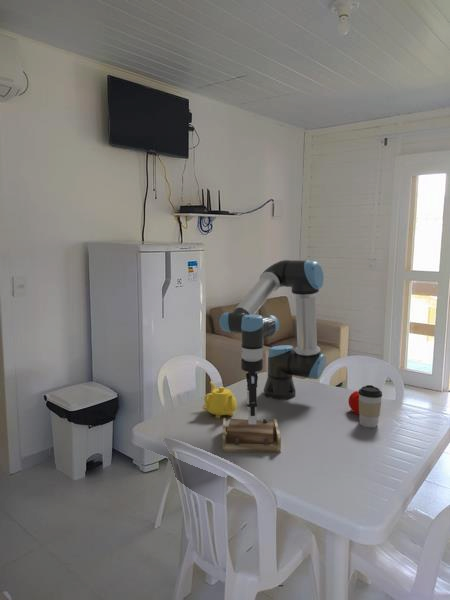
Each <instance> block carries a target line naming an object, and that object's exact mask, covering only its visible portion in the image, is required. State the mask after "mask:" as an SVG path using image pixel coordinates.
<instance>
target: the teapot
mask: <svg viewBox="0 0 450 600" xmlns="http://www.w3.org/2000/svg"><path fill="white" fill-rule="evenodd" d="M210 385H211V390H210V393H206V394H205V395H204V398H203V400H204V405H203V406H202V409H203V411H208V412H209V413H210V414H212V415H215V418H216V417H217V418H216V419H221V418H222V416H228V417H232V416H234V414H233V413H234V412H235V411H236V410H237V408H238V404H237V399H236V397H235V396H234V394H233V392H232V391H231V390H230V389H229V388H225V386H219V387H217V388H216V385H215V382H213V381H211V380H210ZM220 417H221V418H220Z"/></svg>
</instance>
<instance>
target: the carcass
mask: <svg viewBox="0 0 450 600" xmlns="http://www.w3.org/2000/svg"><path fill="white" fill-rule="evenodd" d="M273 421H274V426H273V444H268V439H264V444H239V439H238V438H236V439H235V444H229V443H227V429H228V426H229V425H227V418H225V417H223V419H222V422H223V423H222V438H221V439H222V440H221V441H222V442H221V445H222V448H221V450H222V452H223V453H224V452H226V453H227V452H228V453H229V452H230V453H274V454H275V453H277V454H279V453H281V450H282V449H281V447H282V437H281V433H280V429H279V425H278V424H279V423H278V420H277V419H276V418H273Z"/></svg>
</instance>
